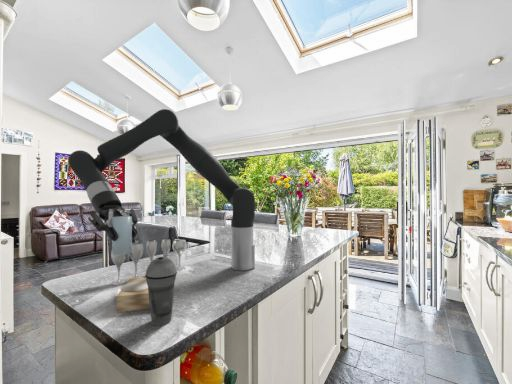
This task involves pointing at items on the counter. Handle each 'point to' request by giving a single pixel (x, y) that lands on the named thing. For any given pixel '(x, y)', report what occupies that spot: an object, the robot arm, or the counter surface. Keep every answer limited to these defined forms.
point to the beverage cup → (161, 288)
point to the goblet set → (151, 247)
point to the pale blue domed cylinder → (122, 235)
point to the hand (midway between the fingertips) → (125, 237)
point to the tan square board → (133, 295)
